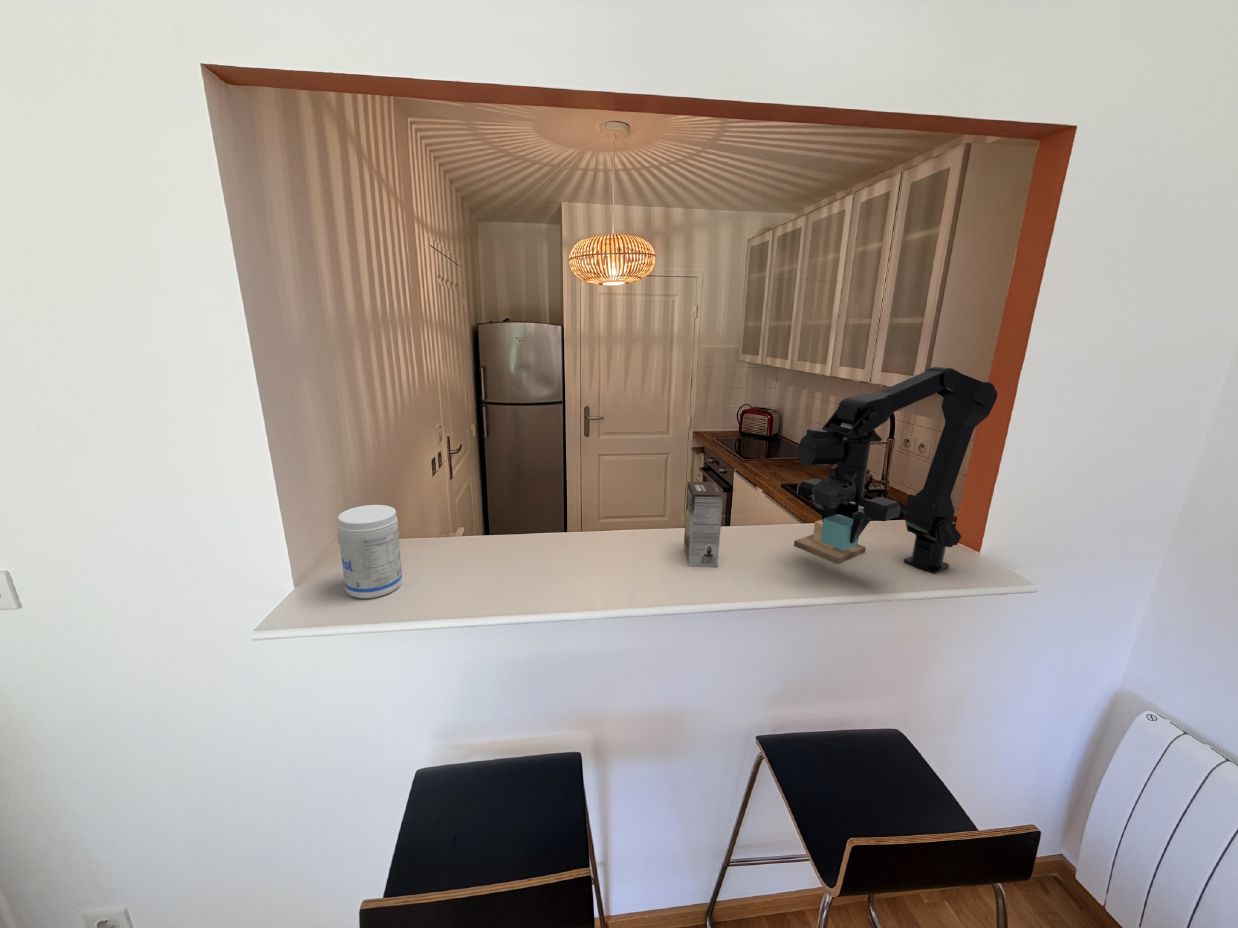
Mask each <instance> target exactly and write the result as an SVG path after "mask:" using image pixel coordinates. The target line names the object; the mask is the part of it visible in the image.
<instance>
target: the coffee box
mask: <svg viewBox="0 0 1238 928" xmlns="http://www.w3.org/2000/svg"><path fill="white" fill-rule="evenodd" d="M686 488H687V490H686V501H685V502H686V504H685V505H686V506H685V518H684V519H685V520H684V522H685V523H684V533H683V535H684V536H683V550H684V553H685V558H686V561H687V564H688V566H689V567H697V568H698V567H699V568H700V567H702V568H703V567H704V568H705V567H708V568H709V567H711V568H712V567H713V568H717V567H718V561H719V551H720V550H719V549H720V540H721V530H722V529H721V528H722V518H723V507H724V494H723V491H722V490H721V489H720V487H719V485H718V483H717V482H716V481H687V487H686Z"/></svg>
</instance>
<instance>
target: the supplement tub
mask: <svg viewBox="0 0 1238 928" xmlns="http://www.w3.org/2000/svg"><path fill="white" fill-rule="evenodd" d="M337 530H338V539H339V546H340V549H339V550H340V555H341V564H342V572H343V581H344V588H345V591H346V593H347V594H348V595H349V596H351V597H353V598H356V599H357V598H358V599H375V598H380V597H383V596H386V595H388V594H390V593H392V592H394V591H396V590H397V589H398V588H399V587H400V586H401V584H402V581H403V570H402V559H401V546H400V535H399V534H400V533H399V522H398V516H397V511H396V509H395V508H394V507H392V506H390V505H386V504H385V505H384V504H367V505H361V506H356V507H351V508H349V509H346V510H345V511H343V512H341V513H340V514H339V515H338V517H337Z"/></svg>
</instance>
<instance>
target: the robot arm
mask: <svg viewBox="0 0 1238 928" xmlns="http://www.w3.org/2000/svg"><path fill="white" fill-rule="evenodd" d="M933 395H937V396H939V397H941V398H942V401H941V402H942V403H941V410H942V414H943V418H944V425H943V429H942V431H941V433H940V437H939V440H938V443H937V446H936V449H935V453H934V455H933V458H932V460H931V464H930V467H929V469H928V474H927V476H926V479H925V482H924V485H923V487H922V489H920V490H919V491H918V492H917V493H916V494H912V493H910V494H909V495H908V496H907V499H906V503H905V506H904V508H901V506H900V503H899V502H898V501H896V500H892V499H889V498H886V497H883V496H878V497H874V498H872V499H869V498H865V497H864V496H866V495H867V493H868V489H866V488H865V483H866V477H867V476H869V475H870V473H871V469H869V468H868V463H869V457H870V450H871V445H872V443H877V442H878V443H879V442H882V440H883V438H882V437H881V436H880V435H879V434H878V433H877V432H876V429H877V428H879V427H880V426H881V425H884V423H887V421H888V420H889V418H890V417H891V416H892V415H893V414H894V413H895V412H897V411H899V410H902V409H904V408H906V407H909V406H910V405H913V404H916V403H917V402H919V401H921V400H924V399H926V398H928V397H929V398H930V397H931V396H933ZM997 399H998V391H997V390H996V388H995V386H994V385H993V383H991V382H989V381H981V380H979V379H977V378H974V377H971V376H968V375H966V374H963V373H962V372H960V371H958V370H957V369H954V368H952V367H943V366H942V367H940V366H932V367H930V368H927V369H926V370H925V371H924V372H921V373H919V374H916V375H914V376H912V377H910V378H908V379H906V380H902V381H901V382H898V383H896V384H893V385H891V386H889V387H887V388H885V389H882V390H881V391H876V392H871V393H862V394H861V393H860V394H858V395H853V396H849V397H848V396H847V397H845V398H843V399H842V400H841V401H840V402H839V403H838V404H839V405H838V407H837V409H836V410H835V412H833V414H832V415H831V416H830V417H829V419H828V420H827V422H825V424H824V425H823V427H822V428H821V429H814V428H812V429H811V428H810V429H807V430H806V435H804V436H802V438H801V439H800V441H799V443H798V444H797V456H798V459H799V461H800V463H801V464H802V465H803V466H806V467H807V466H809V467H810V466H832V467H830V469H829V471H828V475H827V477H825V478H823V479H818V478H809V479H806V480H801V481H800V482H799V484H798V485H797V491H796V494H797V495H800V497H801V496H802V497H805V498H810V499H809V502H810V503H813V504H814V505H815V506H816V508H818V511H819V513H820V517H821V520H822V521H823V520H824V518H827V517H830V516H834V515H836V512H837V508H838V507H839V506H840V505H841V504H844V505H852V506H855V507H857V508H858V509H857V511H856V512H852V513H850V515H851V517H852V519H853V525H852V530H851V535H850V543H851V544H852V543H855V541H856V540H857V538H858V537H859V538H860V537H861V534H862V533H863V531H864V530H865V529H866V527H867V526H868V525H869V523H871V521H872V520H877V521H880V522H887V521H890V520H892V519H895V518H899V517H900V514H901V509H902V512H903V513H904V514H903V520H904V522H905V526H906V531H907V532H909V533H911V534H913V535H915V537H914V542H913V549H912V552H911V553H912V554H911V556H909V557H907V558H905V559H903V562H904V563H906V564H909V565H911V566H914V567H917V568H920V569H922V570H925V571H928V572H930V573H933V574H938V573H939V572H941V571H943V570H945V569H947V568H949V566H950V564H949V563H947V562H944V558H945V554H946V550H947V549H946V548H953V547H954V546H958V544H959V542H960V540H961V538H962V535H961V533H960V532H959V530H958V529H957V528H956V526H955V525H954V524H953V520H954V515H955V507H954V504H953V501H952V497H951V495H952V492H953V490H954V486H955V484H956V482H957V478H958V476H959V472H960V470H961V466H962V465H963V461H964V458H965V455H966V453H967V450H968V446H969V443H970V441H971V438H972V435H973V433H974V430H975V428H976V427H977V426H978V425H980V424H981V423H982V422H983V421H984V420H985V419H987V418H988V417H989V415H990V413H991V411H992V409H993V408H994V406H995V404H996V401H997ZM833 465H834V466H833ZM811 497H812V498H811Z"/></svg>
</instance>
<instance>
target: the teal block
mask: <svg viewBox="0 0 1238 928" xmlns="http://www.w3.org/2000/svg"><path fill="white" fill-rule="evenodd" d="M852 525H853V518H850V517H849V516H845V515H842V514H839V513H838V514H835V515H834V516H830V517H827V518H824V520H823V527H822V535H821V542H823V543H825V544H828V545H830V546H833V547H836V548H838V549H841V550H846V549H849V548H851V547H854V546H857V545H858V544H859V539H860V536H859V537H858V538H857V540H856V541H855V543H852V544H851V543H850V535H851V530H852Z"/></svg>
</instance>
